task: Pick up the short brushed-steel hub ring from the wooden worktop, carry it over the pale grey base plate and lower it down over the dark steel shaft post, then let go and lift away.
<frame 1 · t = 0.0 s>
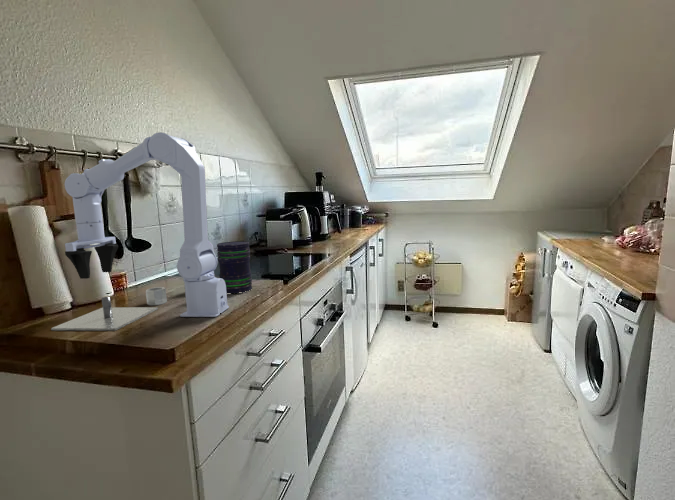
hand: (96, 275, 96), 10 cm above the worktop, fingers open, 7 cm apart
shaft post: (108, 318, 92), on the worktop
storage jar: (236, 290, 117), on the worktop
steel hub: (157, 302, 105), on the worktop
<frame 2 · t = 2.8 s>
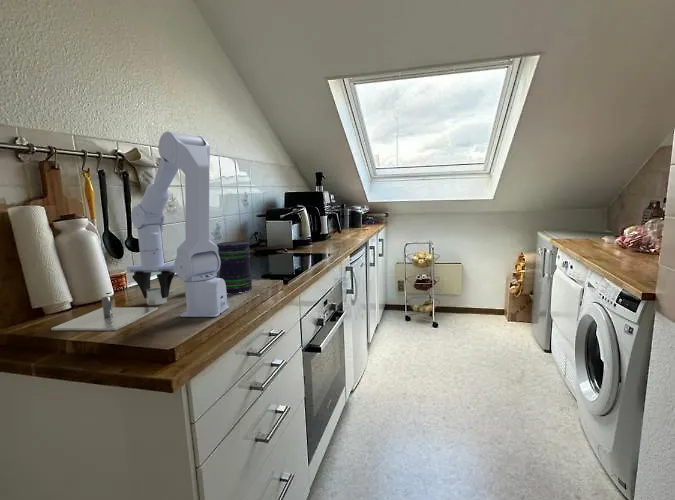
hand: (156, 297, 105), 2 cm above the worktop, fingers closed on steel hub, 5 cm apart
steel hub: (157, 302, 105), on the worktop, touching gripper
everything else where it was.
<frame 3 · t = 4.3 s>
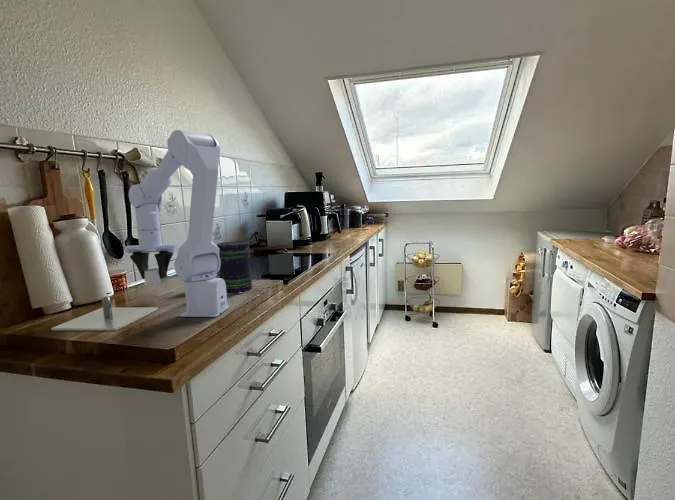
hand: (154, 278, 104), 7 cm above the worktop, fingers closed on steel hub, 5 cm apart
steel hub: (155, 283, 104), point 6 cm above the worktop, touching gripper
everything else where it was.
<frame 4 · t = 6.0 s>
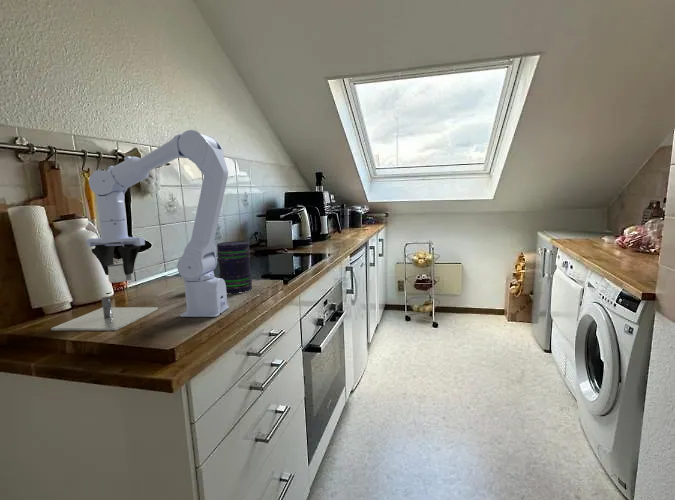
hand: (119, 274, 94), 10 cm above the worktop, fingers closed on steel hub, 5 cm apart
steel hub: (120, 280, 95), point 9 cm above the worktop, touching gripper
everything else where it was.
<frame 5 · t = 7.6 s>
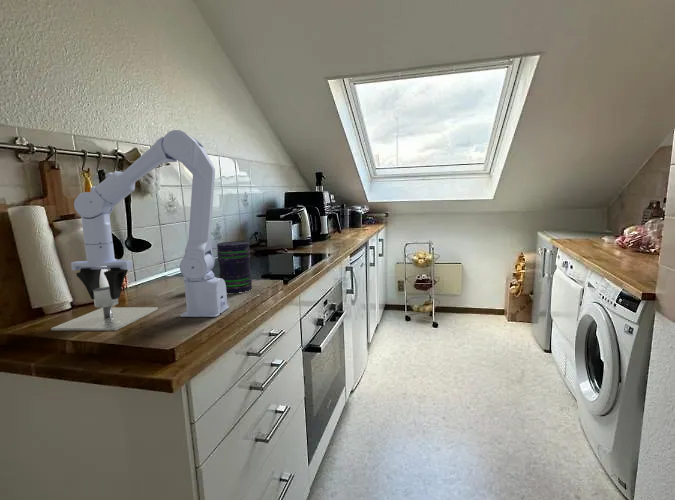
hand: (105, 298, 91), 5 cm above the worktop, fingers closed on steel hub, 5 cm apart
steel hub: (106, 304, 91), point 4 cm above the worktop, touching gripper
everything else where it was.
when the fingers open (3 cm above the worktop, at t = 9.1 s): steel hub stays where it is, resting on shaft post.
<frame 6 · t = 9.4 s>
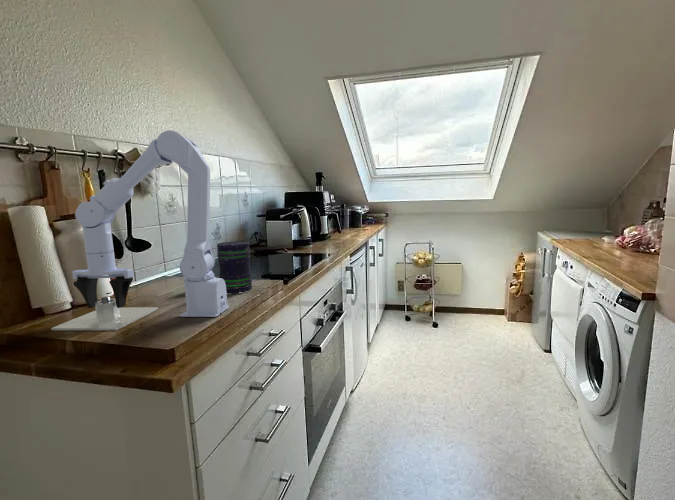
hand: (107, 306, 91), 3 cm above the worktop, fingers open, 7 cm apart
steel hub: (108, 316, 92), resting on shaft post
everything else where it was.
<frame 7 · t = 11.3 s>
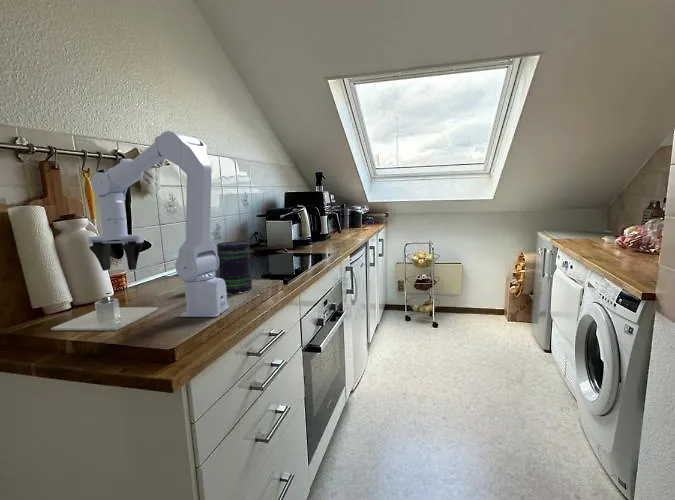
hand: (119, 269, 100), 10 cm above the worktop, fingers open, 7 cm apart
nothing on the worktop moved.
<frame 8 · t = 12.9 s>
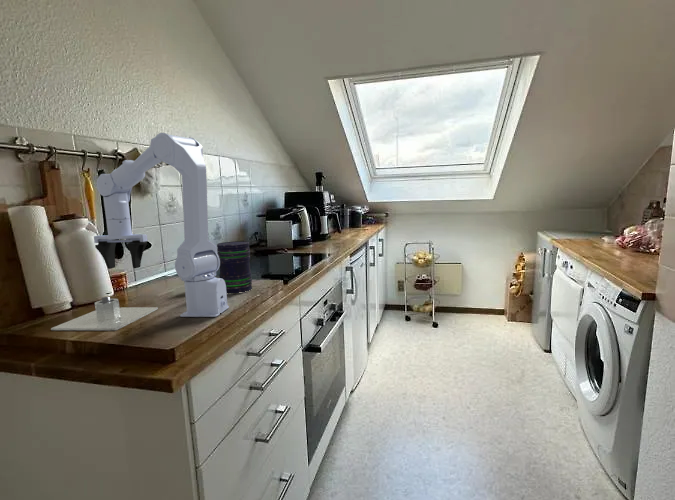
hand: (124, 267, 104), 10 cm above the worktop, fingers open, 7 cm apart
nothing on the worktop moved.
at the end: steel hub 0.0 cm off-centre on the shaft post, point 0.5 cm above the shaft post's base; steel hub tilted 0°; the gripper is holding nothing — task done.
